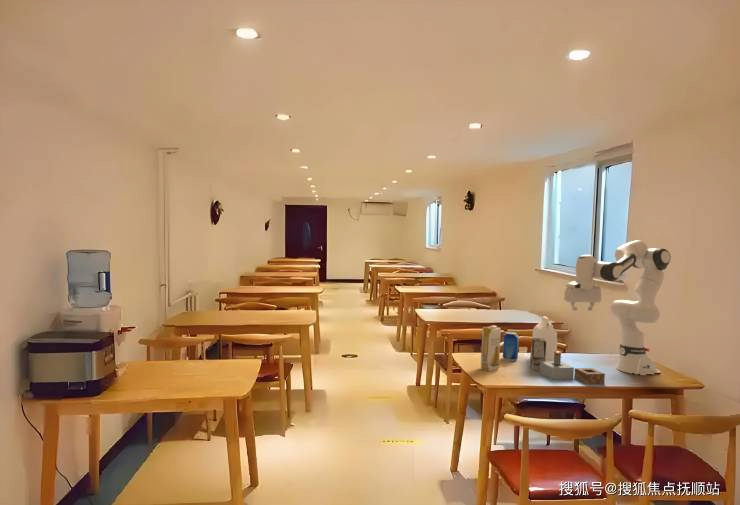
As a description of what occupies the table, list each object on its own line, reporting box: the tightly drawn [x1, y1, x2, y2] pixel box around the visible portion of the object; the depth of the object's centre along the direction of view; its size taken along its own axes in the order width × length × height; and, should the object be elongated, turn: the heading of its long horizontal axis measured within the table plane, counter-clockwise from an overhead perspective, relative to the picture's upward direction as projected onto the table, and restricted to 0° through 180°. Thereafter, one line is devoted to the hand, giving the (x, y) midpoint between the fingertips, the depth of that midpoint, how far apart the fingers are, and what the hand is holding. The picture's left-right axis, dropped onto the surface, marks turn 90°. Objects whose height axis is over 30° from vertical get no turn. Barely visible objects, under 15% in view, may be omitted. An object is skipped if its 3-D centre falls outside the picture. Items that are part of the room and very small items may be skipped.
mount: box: [573, 367, 606, 385], centre depth 241 cm, size 10×10×5 cm
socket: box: [539, 361, 575, 381], centre depth 247 cm, size 12×12×6 cm
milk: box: [529, 316, 558, 361], centre depth 275 cm, size 12×12×26 cm
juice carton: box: [480, 325, 502, 372], centre depth 254 cm, size 9×8×24 cm
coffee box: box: [530, 338, 546, 372], centre depth 259 cm, size 9×6×16 cm
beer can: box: [502, 331, 520, 362], centre depth 275 cm, size 8×8×16 cm
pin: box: [554, 350, 563, 366], centre depth 247 cm, size 4×4×13 cm
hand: (582, 310), depth 253 cm, fingers open, 8 cm apart
